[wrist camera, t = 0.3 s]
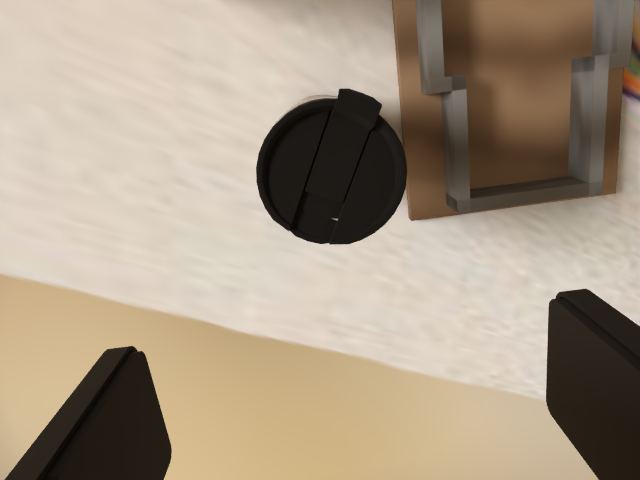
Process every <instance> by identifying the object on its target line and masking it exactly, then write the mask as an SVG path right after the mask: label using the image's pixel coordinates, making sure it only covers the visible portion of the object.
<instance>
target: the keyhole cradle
mask: <svg viewBox="0 0 640 480" xmlns="http://www.w3.org/2000/svg"><path fill="white" fill-rule="evenodd" d="M634 2H635V0H392V6H393V19H394V32H395V44H396V57H397V70H398V83H399V96H400V109H401V122H402V134H403V147H404V153H405V157H406V164H407V179H406V186H407V199H408V212H409V218H410V220H411V221H414V220H421V219H429V218H436V217H444V216H451V215H459V214H466V213H473V212H481V211H488V210H496V209H503V208H510V207H518V206H525V205H533V204H540V203H548V202H555V201H562V200H570V199H577V198H585V197H592V196H599V195H607V194H614V193H616V182H617V166H618V150H619V134H620V119H621V103H622V87H623V71H624V67H627V66H630V61H631V46H632V31H633V17H634Z"/></svg>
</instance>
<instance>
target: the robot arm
mask: <svg viewBox="0 0 640 480" xmlns="http://www.w3.org/2000/svg"><path fill="white" fill-rule="evenodd" d="M546 402H547V406H548V409H549V412H550V414H551V415H552V417H553V418H554V420H555V421H556V422H557V424H558V425H559V426H560V428H561V429H562V430H563V432H564V433H565V434H566V436H567V437H568V438H569V440H570V441H571V443H572V444H573V445H574V447H575V448H576V449H577V451H578V452H579V453H580V455H581V456H582V457H583V459H584V460H585V461H586V463H587V464H588V465H589V467H590V468H591V469H592V471H593V472H594V473H595V475H596V476H597V477H598V479H599V480H640V326H638V325H637V324H635V323H634V322H633V321H631V320H630V319H629V318H627V317H626V316H624V315H623V314H622V313H620V312H619V311H617V310H616V309H615V308H613V307H612V306H610V305H609V304H608V303H606V302H605V301H603V300H602V299H601V298H599V297H598V296H596V295H595V294H594V293H592V292H591V291H590V290H587V289H580V290H572V291H564V292H559V293H558V294H557V296H556V299H552V300H551V301H550V303H549V318H548V352H547V387H546ZM170 460H171V444H170V440H169V437H168V433H167V429H166V426H165V422H164V419H163V415H162V412H161V409H160V405H159V401H158V398H157V395H156V391H155V387H154V384H153V380H152V377H151V373H150V370H149V366H148V363H147V359H146V356H145V354H144V353H143V352H142V351H140V352H138V351H137V350H136V348H135V347H133V346H129V347H122V348H114V349H107V350H106V351H105V352H104V353H103V354H102V356H101V357H100V358H99V359H98V361H97V362H96V363H95V365H94V366H93V367H92V369H91V370H90V371H89V372H88V374H87V375H86V376H85V377H84V379H83V380H82V381H81V383H80V384H79V385H78V386H77V388H76V389H75V390H74V392H73V393H72V394H71V395H70V397H69V398H68V399H67V400H66V402H65V403H64V404H63V406H62V407H61V408H60V409H59V411H58V412H57V413H56V415H55V416H54V417H53V418H52V420H51V421H50V422H49V424H48V425H47V426H46V428H45V429H44V430H43V431H42V433H41V434H40V435H39V436H38V438H37V439H36V440H35V441H34V443H33V444H32V445H31V447H30V448H29V449H28V450H27V452H26V453H25V454H24V456H23V457H22V458H21V459H20V461H19V462H18V463H17V465H16V466H15V467H14V469H13V470H12V471H11V472H10V474H9V475H8V476H7V477H6V479H5V480H164V477H165V474H166V472H167V469H168V466H169V464H170Z"/></svg>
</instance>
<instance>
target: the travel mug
mask: <svg viewBox="0 0 640 480" xmlns="http://www.w3.org/2000/svg"><path fill="white" fill-rule="evenodd" d="M338 93H339V95H338V97H334V96H327V95H316V96H310V97H308V98H305V99H303V100H301V101H300V102H298V103H297V104H295V105H294V106H293V107H292V108H290V109H289V110H288V111H287V112H286V113H285V114H284V115H283V116H282V117H281V118H280V119H279V120H278V121H277V122H276V123H275V125H274V126H273V127H272V129H271V130H270V132H269V133H268V135H267V136H266V138H265V139H264V142H263V144H262V147H261V149H260V152H259V156H258V161H257V167H256V173H257V185H258V190H259V194H260V197H261V200H262V202H263V204H264V206H265V209H266V210H267V211H268V213H269V214H270V216H271V217H272V219H273V220H274V221H276V222H277V223H278V224H280V225H281V226H282V227H284V228H285V229H286V230H288V231H289V230H290V231H291V232H292V233H293V234H294V235H295V236H297V237H299V238H302V239H304V240H306V241H310V242H314V243H319V244H325V243H329V244H351V243H354V242H357V241H360V240H362V239H364V238H366V237H368V236H370V235H371V234H373V233H375V232H376V231H377V230H379V229H380V228H381V227H382V226H383V225H385V224H386V222H387V221H388V220H389V219H390V218H391V217H392V215H393V214H394V213H395V211H396V209H397V207H398V206H399V204H400V202H401V200H402V197H403V194H404V191H405V187H406V179H407V164H406V157H405V153H404V150H403V147H402V144H401V142H400V140H399V138H398V136H397V135H396V133H395V131H394V130H393V129H392V127H391V126H390V125H389V124H388V123H387V122H386V121H385V120H384V119H383V118H382V117H381V116H380V115H379V112H380V109H381V106H382V104H381V103H379V102H378V101H377V100H375V99H374V98H373V97H370V96H368V95H365V94H363V93H360V92H357V91H354V90H351V89H339V92H338Z"/></svg>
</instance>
